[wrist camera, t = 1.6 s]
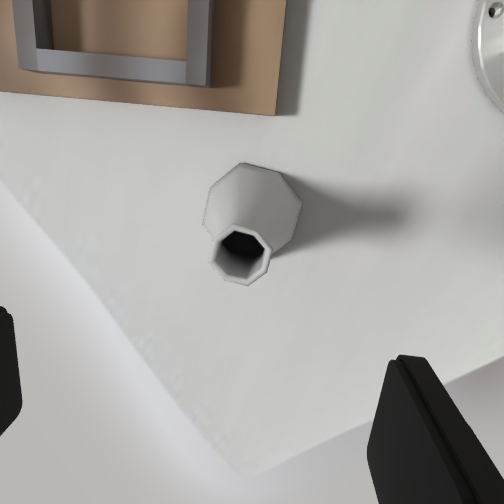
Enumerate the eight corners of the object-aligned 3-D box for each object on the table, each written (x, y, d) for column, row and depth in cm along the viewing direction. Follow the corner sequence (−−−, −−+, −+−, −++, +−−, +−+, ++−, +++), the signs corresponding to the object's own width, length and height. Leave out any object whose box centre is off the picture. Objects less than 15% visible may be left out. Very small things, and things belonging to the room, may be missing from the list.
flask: (266, 275, 30) (262, 343, 21) (187, 226, 29) (145, 275, 20) (319, 198, 28) (341, 236, 19) (235, 144, 27) (214, 154, 18)
